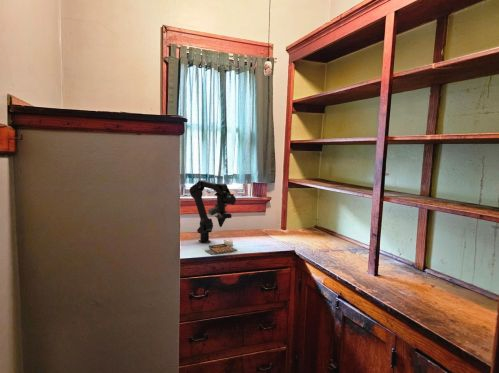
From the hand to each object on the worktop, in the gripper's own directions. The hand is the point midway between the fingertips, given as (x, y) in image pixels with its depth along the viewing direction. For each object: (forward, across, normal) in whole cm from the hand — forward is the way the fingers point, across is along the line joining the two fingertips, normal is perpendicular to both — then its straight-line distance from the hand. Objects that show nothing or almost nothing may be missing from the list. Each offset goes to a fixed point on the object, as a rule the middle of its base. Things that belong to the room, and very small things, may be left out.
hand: (220, 226), depth 205 cm
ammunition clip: (+11, +6, -5) cm, 13 cm away
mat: (+12, +11, -5) cm, 17 cm away
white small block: (+12, +2, +5) cm, 14 cm away
